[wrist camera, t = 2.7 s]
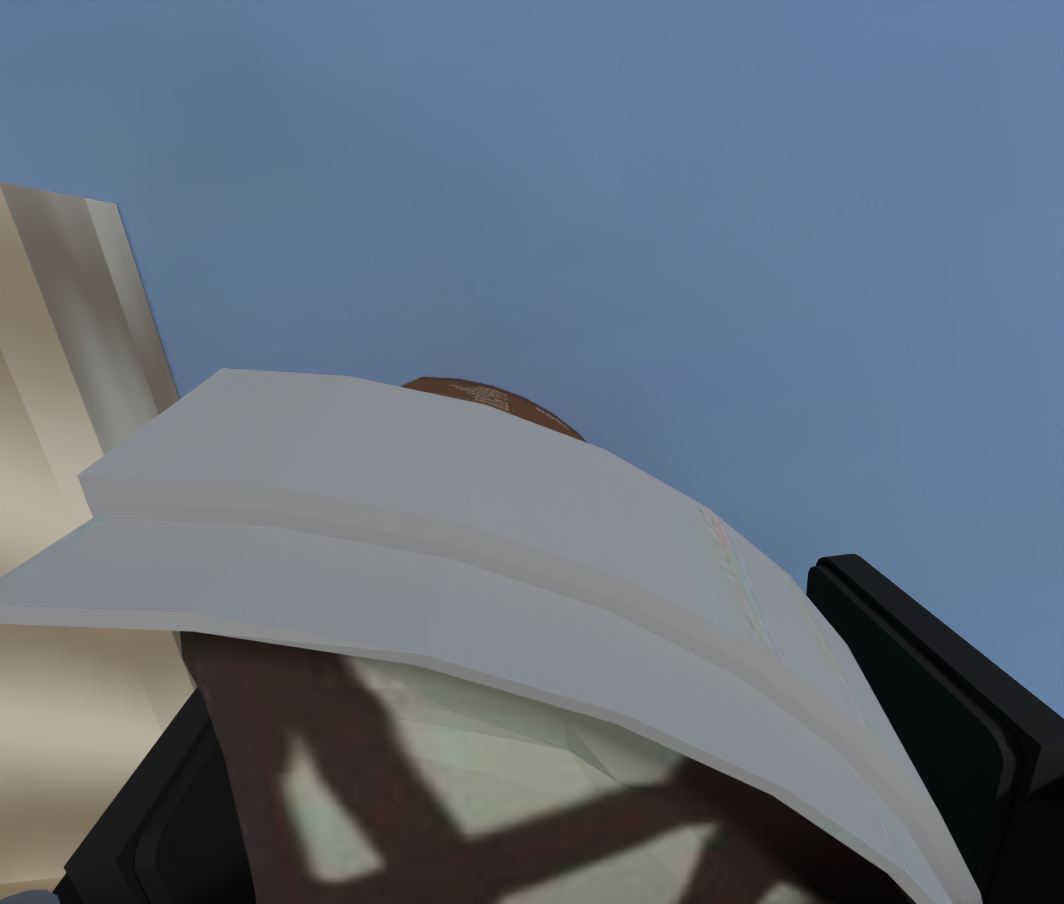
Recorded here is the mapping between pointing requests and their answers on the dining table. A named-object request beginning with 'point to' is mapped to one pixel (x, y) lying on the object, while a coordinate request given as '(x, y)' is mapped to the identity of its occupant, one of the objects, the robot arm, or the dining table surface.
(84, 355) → the holder tray
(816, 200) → the dining table surface
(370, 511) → the food container
